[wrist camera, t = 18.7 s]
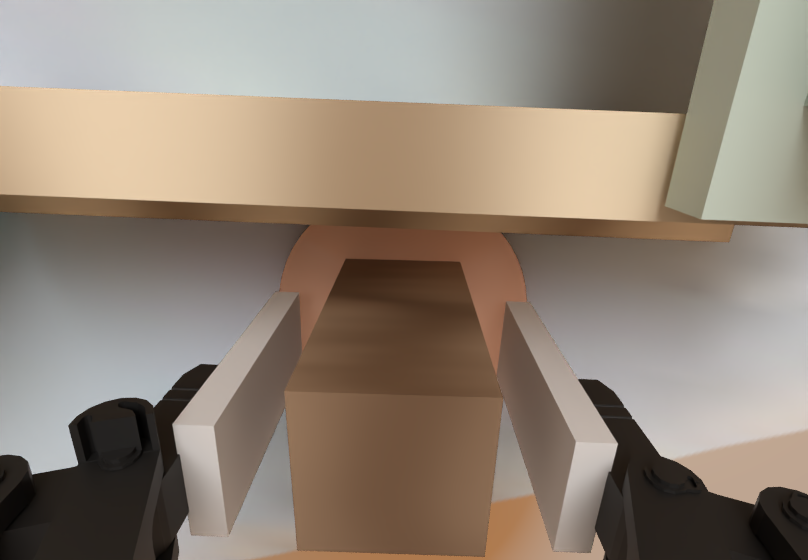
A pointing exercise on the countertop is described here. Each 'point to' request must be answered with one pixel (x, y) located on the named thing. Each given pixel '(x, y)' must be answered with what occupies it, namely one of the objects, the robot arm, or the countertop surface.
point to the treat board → (345, 163)
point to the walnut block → (394, 415)
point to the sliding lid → (747, 117)
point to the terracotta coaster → (476, 251)
